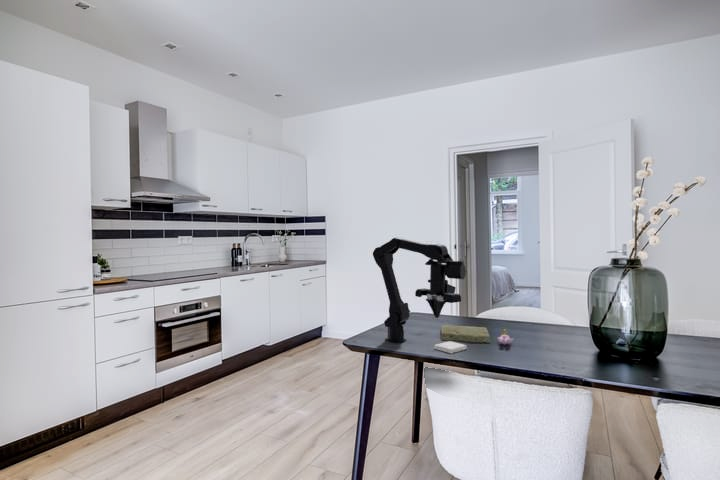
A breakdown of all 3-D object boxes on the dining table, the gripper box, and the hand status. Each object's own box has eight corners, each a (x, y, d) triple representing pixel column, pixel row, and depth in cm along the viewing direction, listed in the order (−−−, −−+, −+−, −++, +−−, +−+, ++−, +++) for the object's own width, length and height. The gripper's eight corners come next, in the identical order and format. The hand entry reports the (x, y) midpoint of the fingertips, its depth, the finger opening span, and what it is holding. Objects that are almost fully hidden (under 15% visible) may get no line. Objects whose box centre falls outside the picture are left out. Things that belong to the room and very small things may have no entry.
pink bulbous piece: (497, 342, 172) (494, 345, 158) (498, 327, 172) (495, 329, 159) (513, 343, 169) (512, 346, 155) (513, 329, 170) (512, 330, 156)
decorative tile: (440, 331, 187) (440, 323, 187) (486, 333, 183) (486, 325, 183) (440, 341, 169) (440, 333, 169) (491, 344, 165) (491, 335, 165)
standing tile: (434, 344, 157) (451, 349, 151) (450, 341, 163) (466, 345, 156) (434, 350, 157) (451, 354, 151) (450, 346, 163) (466, 350, 156)
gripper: (470, 278, 156) (469, 319, 156) (433, 273, 171) (433, 311, 171) (451, 280, 149) (450, 323, 149) (414, 275, 164) (414, 314, 164)
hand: (436, 317), depth 159 cm, fingers closed
